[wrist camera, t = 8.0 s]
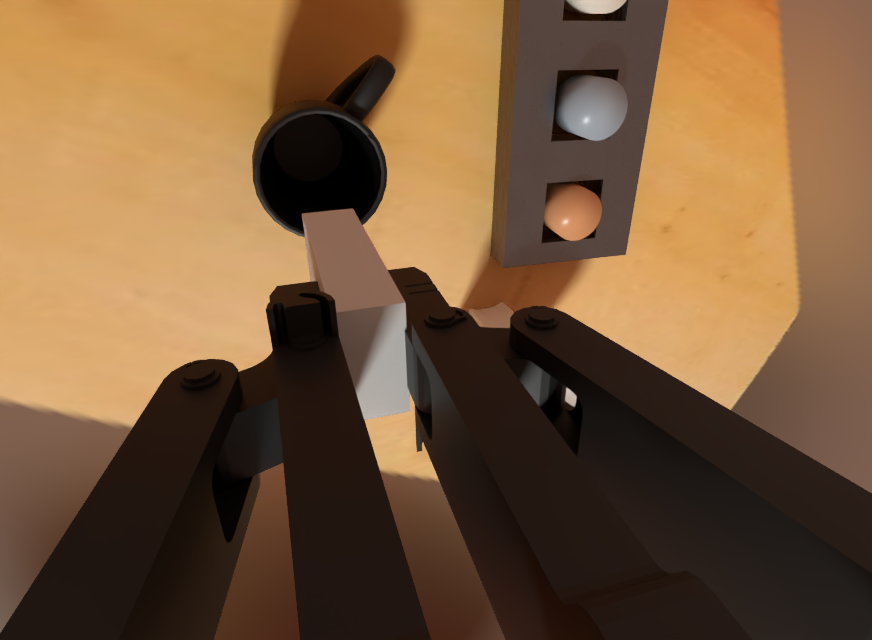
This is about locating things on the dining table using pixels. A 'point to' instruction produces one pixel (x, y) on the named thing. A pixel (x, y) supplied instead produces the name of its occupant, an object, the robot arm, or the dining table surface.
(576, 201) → the button orange
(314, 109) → the mug
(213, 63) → the dining table surface
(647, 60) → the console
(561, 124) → the button slate
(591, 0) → the button cream
